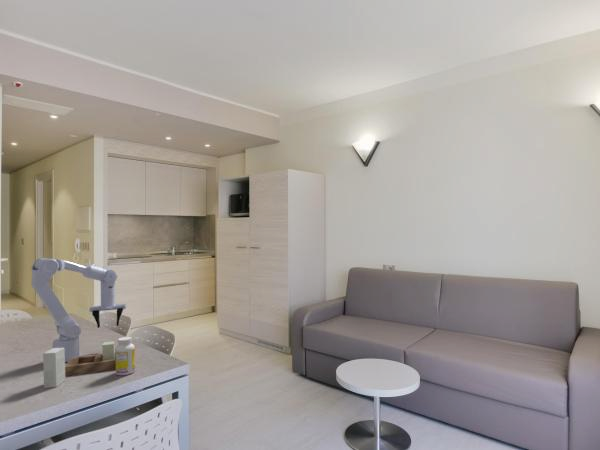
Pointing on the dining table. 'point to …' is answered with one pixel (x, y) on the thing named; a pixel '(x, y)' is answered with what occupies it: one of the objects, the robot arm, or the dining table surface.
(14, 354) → the dining table surface
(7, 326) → the dining table surface
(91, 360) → the walnut rail
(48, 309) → the robot arm
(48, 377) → the skincare box
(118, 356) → the supplement bottle
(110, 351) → the sage peg
